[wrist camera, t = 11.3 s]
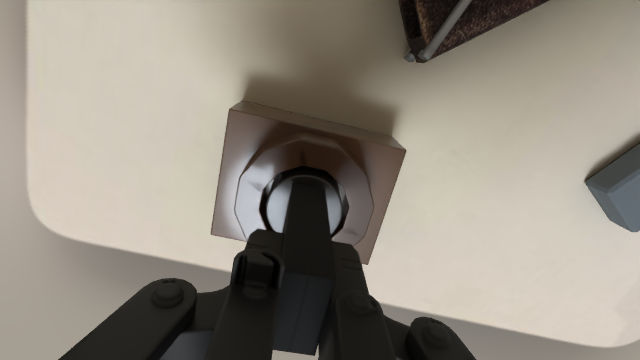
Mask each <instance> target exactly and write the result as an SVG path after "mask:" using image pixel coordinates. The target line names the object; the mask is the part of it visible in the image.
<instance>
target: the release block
mask: <svg viewBox="0 0 640 360" xmlns="http://www.w3.org/2000/svg"><path fill="white" fill-rule="evenodd" d="M405 154H406V149H405V148H404V147H403V146H402V145H400V144H399V143H398V142H397V141H396V140H395V139H394V138H393V137H392V136H389V135H384V134H380V133H376V132H372V131H368V130H363V129H359V128H355V127H351V126H346V125H342V124H338V123H334V122H330V121H325V120H321V119H317V118H313V117H308V116H304V115H300V114H296V113H292V112H287V111H283V110H279V109H275V108H270V107H266V106H262V105H258V104H254V103H249V102H245V101H241V102H239V103H238V104H236V105H235V106H233V107H232V108H230V109H229V113H228V119H227V126H226V133H225V140H224V146H223V153H222V160H221V167H220V174H219V180H218V187H217V194H216V201H215V208H214V214H213V221H212V228H211V235H215V236H220V237H225V238H231V239H236V240H241V241H246V242H247V241H248V238H249V235H250V234H251V233H252V232H254V231H255V230H256V229H263V230H269V231H274V230H273V229H272V228H271V226H270V224H269V222H268V220H267V217H266V202H267V199H268V195H269V192H270V189H271V186H272V183H273V181H274V180H275V178H276V177H277V176H278V175H279V174H280V173H281V172H283V171H286V170H290V169H293V168H297V167H300V166H307V167H311V168H316V169H320V170H325V171H327V172H328V173H329V174H330V175H331V176H332V177H333V178H334V179H335V181H336V183H337V185H338V188H339V192H340V196H341V201H342V207H343V212H342V218H341V221H340V223H339V225H338V227H337V228H336V230H335V231H334V232H333V233H332V234H331V240H332V241H336V242H341V243H347V244H352V246H353V247H354V248H355V249H356V250H357V252H358V253H359V256H360V260H361V264H366V265H368V263H369V260H370V257H371V254H372V251H373V248H374V245H375V242H376V239H377V236H378V233H379V230H380V228H381V225H382V222H383V219H384V216H385V213H386V210H387V207H388V204H389V201H390V198H391V195H392V192H393V189H394V186H395V183H396V180H397V177H398V174H399V171H400V168H401V165H402V162H403V160H404V157H405Z"/></svg>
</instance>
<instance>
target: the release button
mask: <svg viewBox="0 0 640 360" xmlns="http://www.w3.org/2000/svg"><path fill="white" fill-rule="evenodd" d="M292 183H298V184H303V185H308V186H313V187H318V188H323V189H325V191H326V200H327V208H328V216H329V224H330V232H331V234H332V233H333V232H334V231H335V230H336V228H337V227H338V225H339V223H340V221H341V218H342V212H343V207H342V201H341V196H340V192H339V188H338V185H337V183H336V181H335V179H334V178H333V177H332V176H331V175H330V174H329V173H328V172H327V171H325V170H320V169H316V168H311V167H307V166H300V167H297V168H293V169H290V170H286V171H283V172H281V173H280V174H279V175H278V176H277V177H276V178H275V180H274V181H273V183H272V186H271V189H270V192H269V195H268V199H267V202H266V217H267V220H268V222H269V224H270V226H271V228H272V229H273V230H274V231H275V232H280V233H282V231H283V226H284V221H285V216H286V212H287V207H288V202H289V197H290V192H291V188H292Z"/></svg>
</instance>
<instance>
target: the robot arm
mask: <svg viewBox="0 0 640 360" xmlns="http://www.w3.org/2000/svg"><path fill="white" fill-rule="evenodd" d="M362 270H363V268H362V264H361V260H360V256H359V253H358V252H357V250H356V249H355V248H354V247H353V246H352V244H347V243H341V242H336V241H332V240H331V232H330V224H329V216H328V208H327V200H326V191H325V189H323V188H318V187H313V186H308V185H303V184H298V183H292V188H291V192H290V197H289V202H288V207H287V212H286V216H285V221H284V226H283V231H282V233H280V232H275V231H269V230H263V229H256V230H255V231H254V232H252V233H251V234H250V235H249V238H248V241H247V244H246V247H245V250H243V251H241V252H240V253H238V254H237V255H236V256H235V258H234V262H233V268H232V274H231V281H230V285H229V286H227V287H225V288H224V289H221V290H218V291H214V292H206V293H197V290H196V289H195V287H194V286H193V285H192V284H191V283H189V282H187V281H185V280H182V279H176V278H167V279H160V280H157V281H153V282H151V283H150V284H148V285H146V286H145V287H143V288H142V289H141V290H140V291H138V292H137V293H136V294H135V295H134V296H133V297H131V298H130V299H129V300H128V301H127V302H126V303H124V304H123V305H122V306H121V307H120V308H119V309H118V310H116V311H115V312H114V313H113V314H111V315H110V316H109V317H108V318H107V319H106V320H104V321H103V322H102V323H101V324H100V325H99V326H97V327H96V328H95V329H94V330H93V331H91V332H90V333H89V334H88V335H87V336H86V337H84V338H83V339H82V340H81V341H80V342H78V343H77V344H76V345H75V346H74V347H73V348H71V350H69V351H68V352H67V353H66V354H65V355H63V356H62V357H61V358H60V359H58V360H271V359H272V351H273V350H278V351H286V352H292V353H299V354H306V355H313V356H315V353H316V349H317V346H318V345H319V358H318V360H476V359H475V357H474V356H473V355H472V354H471V352H470V351H469V350H468V348H467V347H466V346H465V345H464V343H463V342H462V341H461V340H460V338H459V337H458V336H457V335H456V333H454V332H453V331H452V329H450V327H448V326H447V325H445V324H443V323H442V322H440V321H438V320H435V319H432V318H428V317H419V318H416V319H415V320H414V321H413V322H412V323H411V325H410V327H409V326H407V325H404V324H402V323H399V322H397V321H394V320H392V319H390V318H388V317H386V316H385V315H384V314H383V311H382V308H381V306H380V304H379V302H378V301H377V300H375V299H374V298H373V297H372V296H371V295H369V292H368V288H367V284H366V280H365V276H364V272H363V271H362Z"/></svg>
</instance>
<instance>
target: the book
mask: <svg viewBox="0 0 640 360" xmlns="http://www.w3.org/2000/svg"><path fill="white" fill-rule="evenodd" d="M547 1H549V0H399V5H400V10H401V14H402V19H403V24H404V29H405V33H406V38H407V42H408V44H409V46H410V49H409V51H408V52H407V54H406V55H405V57H404V59H405V60H407V61H408V62H413V61H414V60H416V62H417V63H425V62H427V61H429V60H431V59H433V58H435V57H437V56H439V55H441V54H443V53H445V52H447V51H449V50H451V49H453V48H455V47H457V46H459V45H461V44H463V43H465V42H467V41H469V40H471V39H473V38H475V37H477V36H479V35H481V34H483V33H485V32H487V31H489V30H491V29H493V28H495V27H497V26H499V25H501V24H503V23H505V22H507V21H509V20H511V19H513V18H515V17H517V16H519V15H521V14H523V13H525V12H527V11H529V10H531V9H533V8H535V7H537V6H539V5H541V4H543V3H545V2H547Z"/></svg>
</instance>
